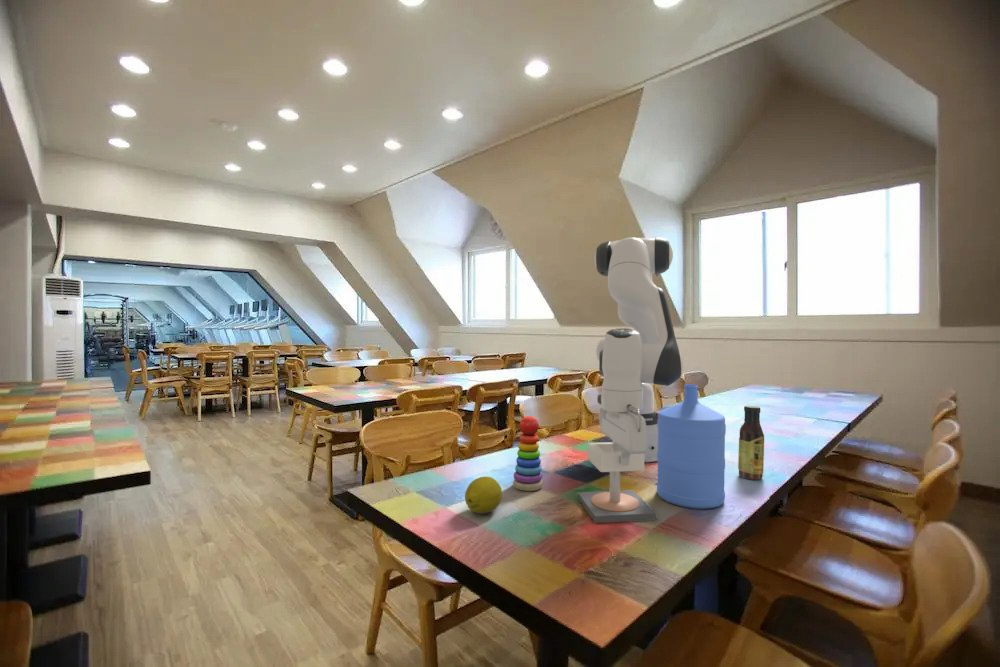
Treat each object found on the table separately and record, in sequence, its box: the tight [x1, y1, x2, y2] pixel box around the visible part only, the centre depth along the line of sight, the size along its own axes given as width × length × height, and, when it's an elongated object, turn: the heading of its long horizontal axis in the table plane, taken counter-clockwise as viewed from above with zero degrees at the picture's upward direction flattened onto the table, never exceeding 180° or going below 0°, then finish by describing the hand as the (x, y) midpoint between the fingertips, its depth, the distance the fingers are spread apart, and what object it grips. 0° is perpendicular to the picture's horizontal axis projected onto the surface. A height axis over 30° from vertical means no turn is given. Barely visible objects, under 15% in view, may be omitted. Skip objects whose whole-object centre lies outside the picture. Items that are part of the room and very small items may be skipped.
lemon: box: [464, 476, 503, 515], centre depth 107 cm, size 11×8×8 cm
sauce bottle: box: [737, 405, 765, 481], centre depth 130 cm, size 6×6×20 cm
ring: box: [587, 441, 645, 473], centre depth 109 cm, size 10×10×4 cm
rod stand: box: [577, 471, 657, 524], centre depth 109 cm, size 14×14×9 cm
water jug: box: [656, 384, 727, 510], centre depth 115 cm, size 16×16×28 cm
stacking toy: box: [512, 415, 544, 492], centre depth 123 cm, size 8×8×19 cm
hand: (621, 462), depth 105 cm, fingers closed on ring
